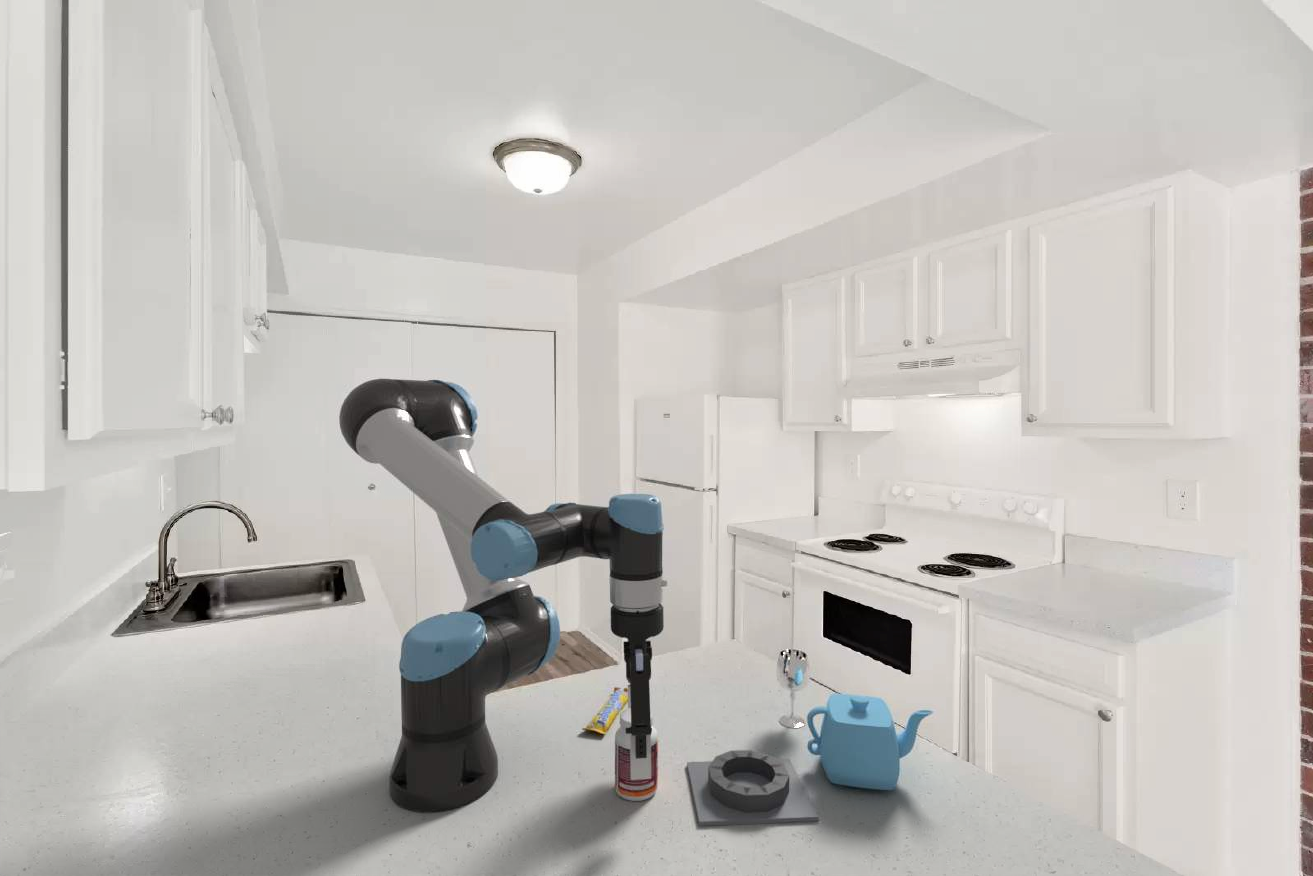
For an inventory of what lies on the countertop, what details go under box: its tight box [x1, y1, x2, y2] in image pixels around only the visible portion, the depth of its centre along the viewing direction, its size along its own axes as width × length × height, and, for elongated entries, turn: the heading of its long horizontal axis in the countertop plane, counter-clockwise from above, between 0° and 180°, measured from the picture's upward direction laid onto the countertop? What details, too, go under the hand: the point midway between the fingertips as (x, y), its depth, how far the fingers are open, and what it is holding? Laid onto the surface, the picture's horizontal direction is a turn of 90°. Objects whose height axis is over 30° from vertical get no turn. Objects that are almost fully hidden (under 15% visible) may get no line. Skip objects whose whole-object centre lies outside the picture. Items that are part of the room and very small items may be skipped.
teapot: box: [806, 693, 934, 791], centre depth 96 cm, size 12×18×12 cm
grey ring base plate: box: [686, 749, 819, 827], centre depth 91 cm, size 16×14×3 cm
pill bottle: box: [614, 708, 659, 802], centre depth 92 cm, size 6×6×11 cm
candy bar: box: [581, 686, 628, 735], centre depth 115 cm, size 17×4×2 cm, turn 164°
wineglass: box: [775, 648, 811, 729], centre depth 111 cm, size 6×6×12 cm
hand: (638, 750), depth 91 cm, fingers open, 13 cm apart
